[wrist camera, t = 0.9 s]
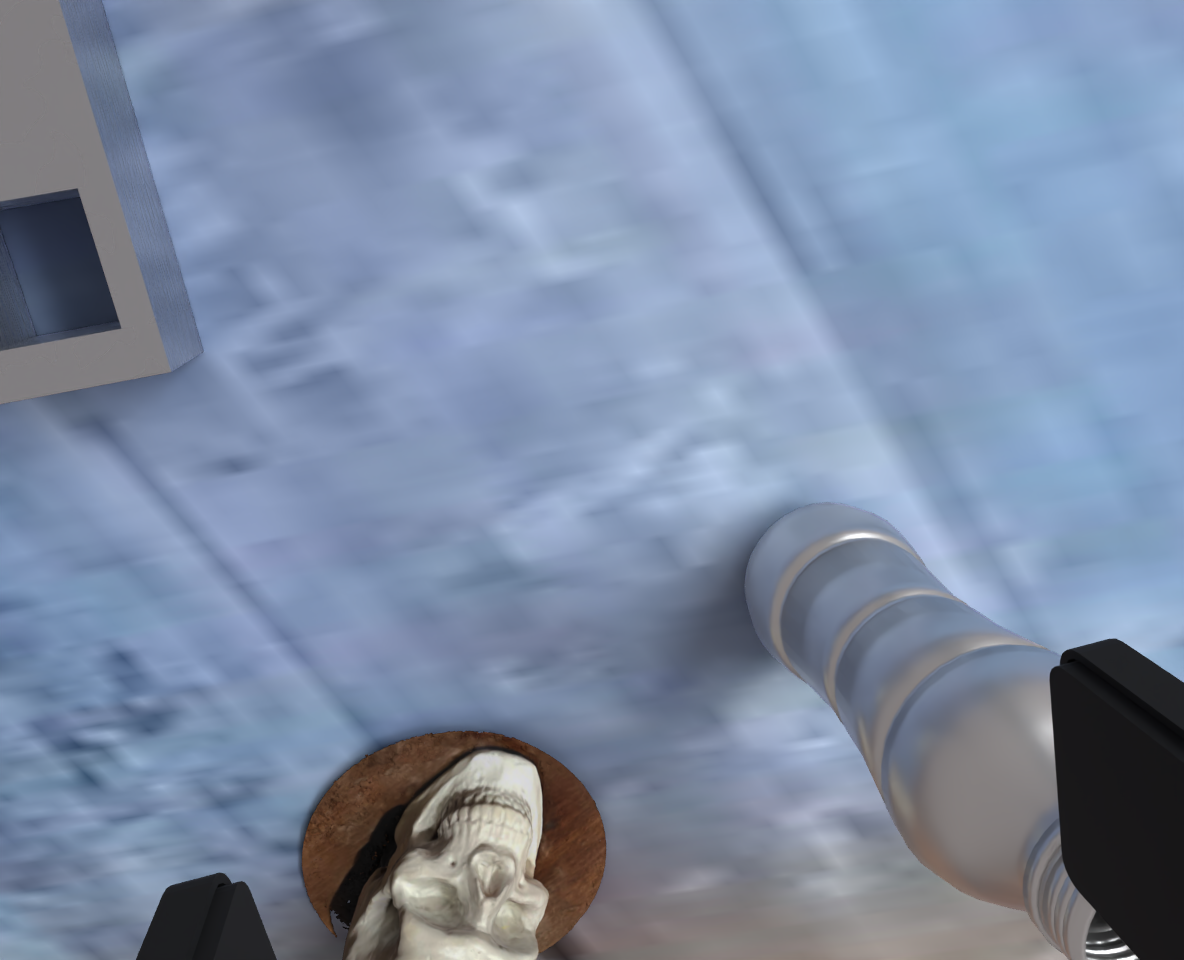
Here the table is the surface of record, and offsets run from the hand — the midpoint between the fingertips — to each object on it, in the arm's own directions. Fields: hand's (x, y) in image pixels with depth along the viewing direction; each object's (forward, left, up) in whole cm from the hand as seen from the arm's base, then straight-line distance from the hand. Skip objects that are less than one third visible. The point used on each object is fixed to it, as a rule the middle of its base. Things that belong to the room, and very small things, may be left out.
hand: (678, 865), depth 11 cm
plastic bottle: (+9, +10, -26) cm, 29 cm away
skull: (+18, -6, -26) cm, 32 cm away
